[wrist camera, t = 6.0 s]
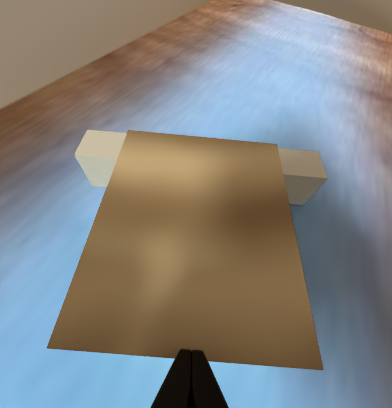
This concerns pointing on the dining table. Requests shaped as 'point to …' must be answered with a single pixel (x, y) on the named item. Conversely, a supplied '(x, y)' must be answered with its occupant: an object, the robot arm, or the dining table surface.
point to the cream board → (290, 158)
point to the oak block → (192, 258)
